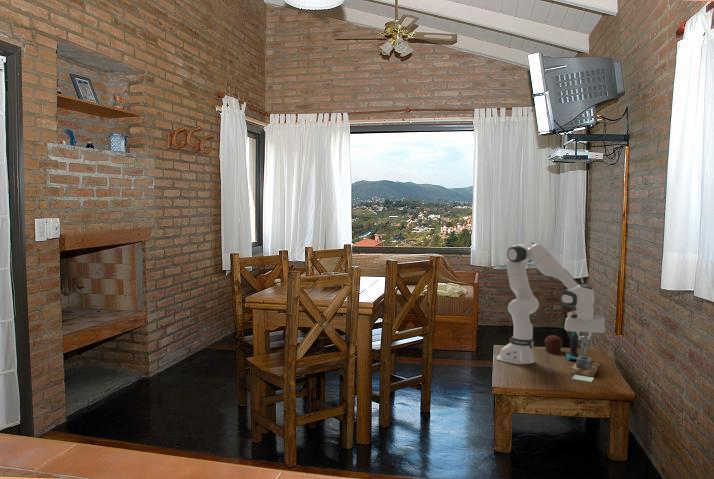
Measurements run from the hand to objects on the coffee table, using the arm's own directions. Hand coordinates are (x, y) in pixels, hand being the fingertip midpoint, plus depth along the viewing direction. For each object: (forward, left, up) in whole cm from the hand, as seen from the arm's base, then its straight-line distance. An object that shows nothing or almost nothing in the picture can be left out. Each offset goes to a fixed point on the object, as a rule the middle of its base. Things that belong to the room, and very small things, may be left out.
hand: (584, 339), depth 306 cm
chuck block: (-1, +13, -21) cm, 25 cm away
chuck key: (0, 0, -8) cm, 8 cm away
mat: (0, 0, -22) cm, 22 cm away
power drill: (-12, +37, -22) cm, 45 cm away
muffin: (-28, +51, -22) cm, 62 cm away
